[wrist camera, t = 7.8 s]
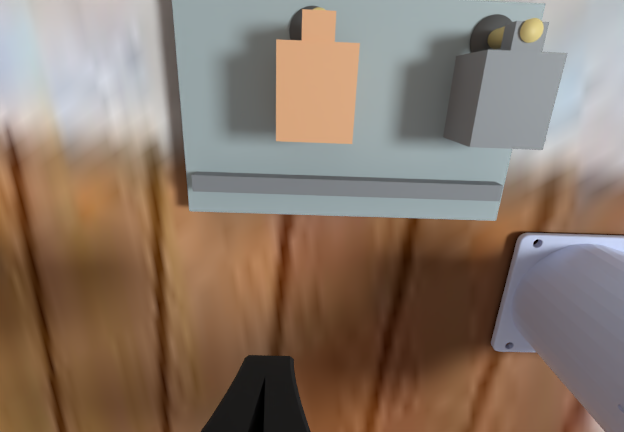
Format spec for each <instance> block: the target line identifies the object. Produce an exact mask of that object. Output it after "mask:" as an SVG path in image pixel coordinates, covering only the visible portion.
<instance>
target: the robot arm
mask: <svg viewBox="0 0 624 432" xmlns="http://www.w3.org/2000/svg"><path fill="white" fill-rule="evenodd" d="M537 239H538V242H537V243H536V244H535V245H533V243H534V241H535V240H537ZM509 342H510V343H509ZM507 343H509V344H507ZM506 344H507V345H506ZM491 345H492V347H493V348H494V350H496V351H499V352H537V353H538V354H539V356H540V357H541V358H542V359H543V360H544V361H545V363H546V364H547V365H548V366H549V367H550V368H551V370H552V371H553V372H554V373H555V374H556V375H557V377H558V378H559V379H560V380H561V381H562V382H563V383H564V385H565V386H566V387H567V388H568V389H569V390H570V392H571V393H572V394H573V395H574V396H575V397H576V399H577V400H578V401H579V402H580V403H581V404H582V405H583V407H584V408H585V409H586V410H587V411H588V412H589V414H590V415H591V416H592V417H593V418H594V419H595V421H596V422H597V423H598V424H599V425H600V426H601V427H602V429H603V430H604V431H605V432H624V236H622V235H589V234H556V233H523V234H521V235H520V236H519V237H518V239H517V242H516V245H515V249H514V253H513V257H512V261H511V265H510V269H509V273H508V277H507V281H506V285H505V289H504V293H503V296H502V300H501V304H500V308H499V312H498V316H497V320H496V324H495V328H494V332H493V336H492V340H491ZM201 432H310V429H309V426H308V423H307V420H306V417H305V414H304V410H303V407H302V404H301V400H300V397H299V393H298V388H297V384H296V379H295V373H294V359H293V358H292V357H290V356H258V355H248V356H247V357H246V358H245V359H244V361H243V363H242V366H241V367H240V369H239V371H238V373H237V375H236V377H235V379H234V381H233V382H232V384H231V386H230V388H229V389H228V391H227V393H226V394H225V396H224V397H223V399H222V401H221V402H220V404H219V405H218V407H217V408H216V410H215V412H214V413H213V415H212V416H211V418H210V419H209V421H208V422H207V423H206V425H205V426H204V428H203V429H202V430H201Z"/></svg>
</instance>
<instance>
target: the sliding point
mask: <svg viewBox="0 0 624 432" xmlns="http://www.w3.org/2000/svg"><path fill="white" fill-rule="evenodd" d="M335 28H336V11H330V10H325V9H324V8H320V7H317V8H314V9H313V10H308V9H302V40H279V39H276V141H281V142H309V143H336V144H352V142H353V128H354V115H355V102H356V89H357V76H358V62H359V49H360V43H348V42H335Z"/></svg>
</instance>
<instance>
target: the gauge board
mask: <svg viewBox="0 0 624 432" xmlns="http://www.w3.org/2000/svg"><path fill="white" fill-rule="evenodd" d="M317 7H320V8H324V9H325V10H330V11H336V28H335V42H348V43H360V49H359V62H358V76H357V89H356V102H355V115H354V128H353V142H352V144H336V143H309V142H281V141H276V39H279V40H302V9H308V10H313V9H314V8H317ZM544 8H545V4H542V3H521V2H500V1H478V0H172V9H173V21H174V32H175V44H176V56H177V68H178V80H179V92H180V104H181V116H182V128H183V140H184V152H185V164H186V176H187V188H188V200H189V211H201V212H233V213H265V214H298V215H330V216H362V217H394V218H427V219H459V220H491V221H496V218H497V214H498V209H499V205H500V201H501V196H502V192H503V188H504V183H505V179H506V174H507V170H508V166H509V161H510V157H511V153H512V149H532V150H543V146H544V142H545V138H546V134H547V131H548V127H549V123H550V119H551V115H552V111H553V107H554V103H555V99H556V96H557V92H558V88H559V84H560V80H561V76H562V72H563V68H564V64H565V61H566V57H567V53H555V52H542V50H543V46H544V42H545V38H546V33H547V29H548V25H549V22H542V17H543V12H544Z"/></svg>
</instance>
